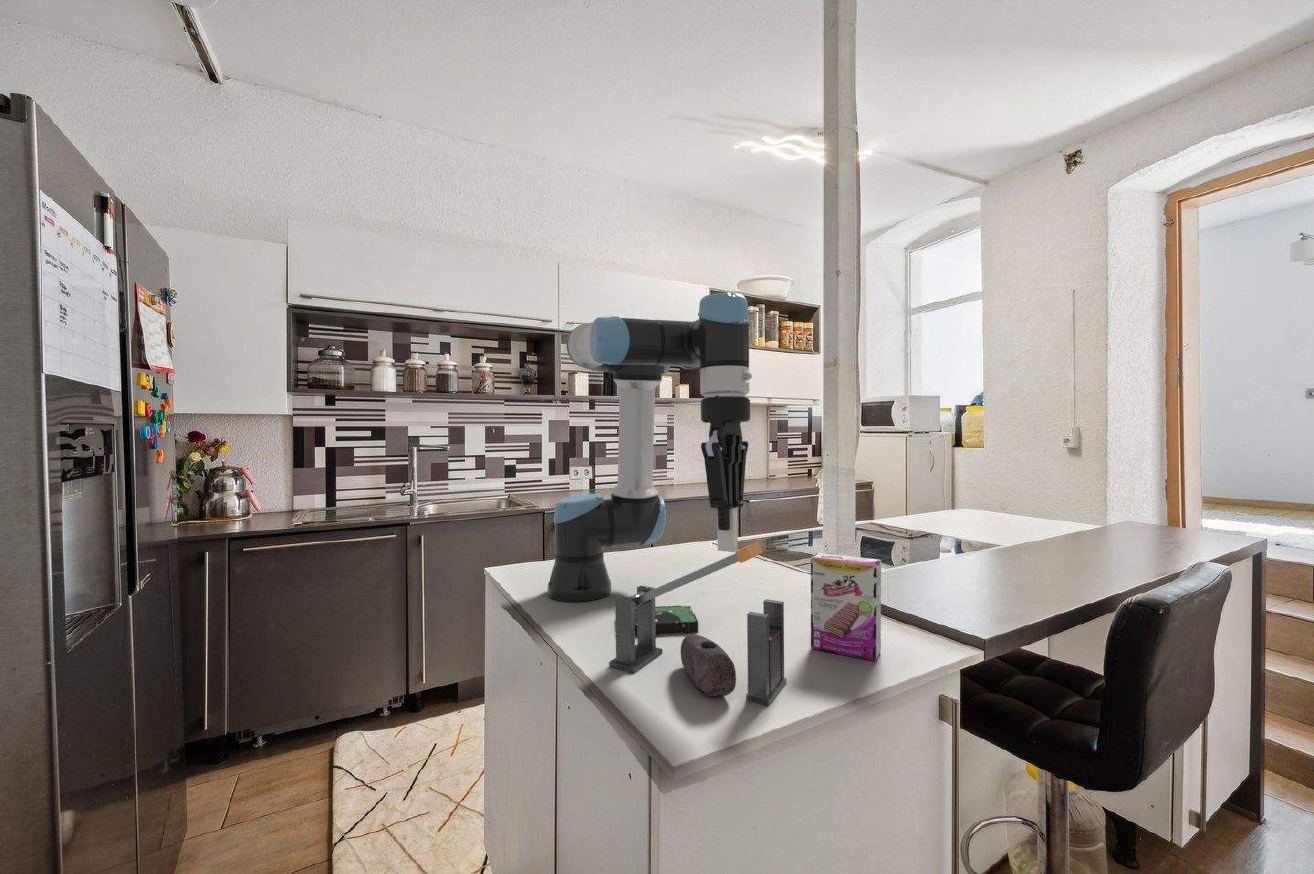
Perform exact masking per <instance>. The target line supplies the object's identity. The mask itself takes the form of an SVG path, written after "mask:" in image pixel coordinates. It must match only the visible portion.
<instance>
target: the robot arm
mask: <svg viewBox="0 0 1314 874" xmlns="http://www.w3.org/2000/svg"><path fill="white" fill-rule="evenodd" d="M699 301H700V302H699V306H698V308H699V309H698V314H697V317H698V319H696V320H695V321H688V320H687V321H686V320H668V319H647V318H645V319H644V318H634V317H632V318H631V317H630V318H629V317H619V316H603V317H601V316H599V317H596V318H595V319H594V321H593V322H588V323H583V324H579V325H577V326H576V327H574V328H573V329H572V330H571V331H570V333H569V334H568V336H567V339H566V352H567V355H568V357H569V358H570V360H571V361H572V363H574V364H575V365H577V366H578V367H581V368H583V369H586V370H589V371H592V372H593V371H594V372H599V373H600V372H601V373H613V377H612V378H613V379H612V380H613V381H614V383H615V384H616V385H617V386H618V388H619V399H618V402H619V403H618V407H619V408H618V448H617V455H618V456H617V484H616V485H615V486H614V487H613V488H612V489H611V492H610V493H611V495H610V498H606V499H604V496H603V495H602V494H601V493H586V494H579V495H578V494H577V495H575V496H574V495H573V496H569V497H565V498H563V499H560V500H559V501H558V502H556V504H555V506H554V514H553V515H554V516H553V517H554V518H553V523H554V564H553V568H552V571H551V573H550V578H549V582H548V584H547V596H548V597H549V598H551V599H553V600H556V601H560V602H570V603H571V602H573V603H575V602H576V603H577V602H589V601H595V600H599V599H602V598H605V597H608V596H609V595H610V594H611V593H612V580H611V579H610V576H609V573H608V570H607V566H606V563H605V559H604V557H605V556H604V549H605V548H614V547H616V548H617V547H629V546H644V545H650V544H654V543H656V542H658V541H659V540H660V539H661V538H662V536H663V533H664V530H665V526H666V521H667V511H666V504H665V500H664V499H663V498H662V497H660V496H659V490H657V489H656V487H655V486H654V484H653V477H654V476H653V473H654V471H653V470H654V468H653V467H654V441H655V440H654V439H655V438H654V437H655V435H654V433H655V429H654V428H655V405H656V403H655V402H656V397H655V396H656V387H658V386H659V385H660V384H661V382H662V380H663V378H662V377H663V375H665V374H667V373H668V372H669V371H670V369H671V367H680V368H681V369H684V370H694V369H696V370H700V371H699V382H700V383H699V384H700V386H699V387H700V388H699V390H700V391H699V393H700V395H701V396H703V398H702V399H701V400H700V421H701V422H702V423H704V424H709V430H708V431H709V432H708V441H707V442H702V443H700V448H701V452H702V455H703V459H704V467H705V475H706V483H707V491H708V499H709V505H710V508H711V509H716V525H717V527H716V529H717V531H716V532H717V533H716V534H717V551H719V552H727V553H735V552H736V551H738V550H739V539H738V537H739V534H738V531H739V529H738V508H743V507H744V502H743V501H744V491H745V476H746V463H747V454H748V449H749V441H748V440H743V435H742V434H743V433H742V428H741V423H746V422H749V421H750V419H751V399H750V398H749V397H746V395H748V394H749V393H750V380H751V379H753V375H752V373H751V372H750V322H751V320H750V318H749V307H748V300H747V298H746V297H745V296H744V295H742V294H740V293H734V292H717V293H716V292H715V293H712V294H711V293H710V294H707V295H705V296H703V297H701V299H700V300H699Z"/></svg>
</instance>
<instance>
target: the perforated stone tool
mask: <svg viewBox="0 0 1314 874" xmlns="http://www.w3.org/2000/svg"><path fill="white" fill-rule="evenodd" d="M680 660H681V665H682V667H683V670H684V671H685V673H686V674H687V675H688V677H689V678H690V679H691V681H692V683H694V685H695V687H697V688H698V690H701V691H703V692H704V694H705V695H706V696H710V697H718V696H723V697H726V696H728V695H730V694H731V693H733V692H734V690H735V688H736V684H737V683H736V682H737V676H736V675H737V674H736V667H735V664H734V662H733V660H732V658H731V657H730V656H729V654H728V653H727V652H726V651H725V650H724V649H723V648H722V647H721V646H720V645H718V644H717V643H716V642H715V641H712V640H711V639H709V638H707V637H705V636H702V635H700V634H697V633H695V634H694V633H689V634H688V635H686V636H684V638H683V639H682V642H681V644H680Z"/></svg>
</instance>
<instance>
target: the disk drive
mask: <svg viewBox="0 0 1314 874" xmlns="http://www.w3.org/2000/svg"><path fill="white" fill-rule="evenodd" d="M655 622H656V635H671V634H694V633H695V634H697V633H699V620H698V618H697V616H696V614H695V612H694V611H693V609H692V606H690V605H666V606H665V605H663V606H661V605H660V606H655ZM636 636H637V609H635V637H636Z"/></svg>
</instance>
